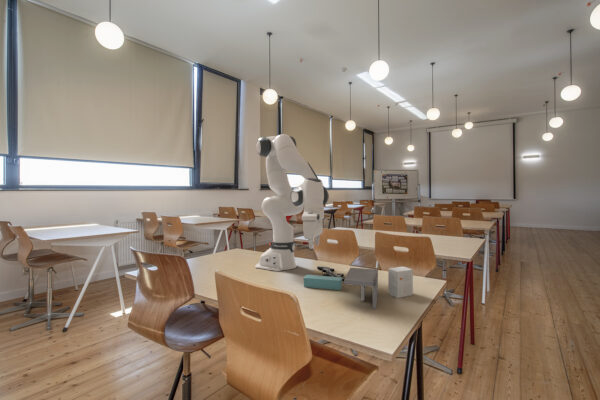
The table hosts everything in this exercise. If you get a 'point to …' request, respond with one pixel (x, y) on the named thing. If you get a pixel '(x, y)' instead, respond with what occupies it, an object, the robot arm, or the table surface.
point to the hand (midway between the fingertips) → (314, 246)
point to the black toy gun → (330, 272)
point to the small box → (400, 282)
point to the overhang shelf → (364, 281)
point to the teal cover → (323, 282)
